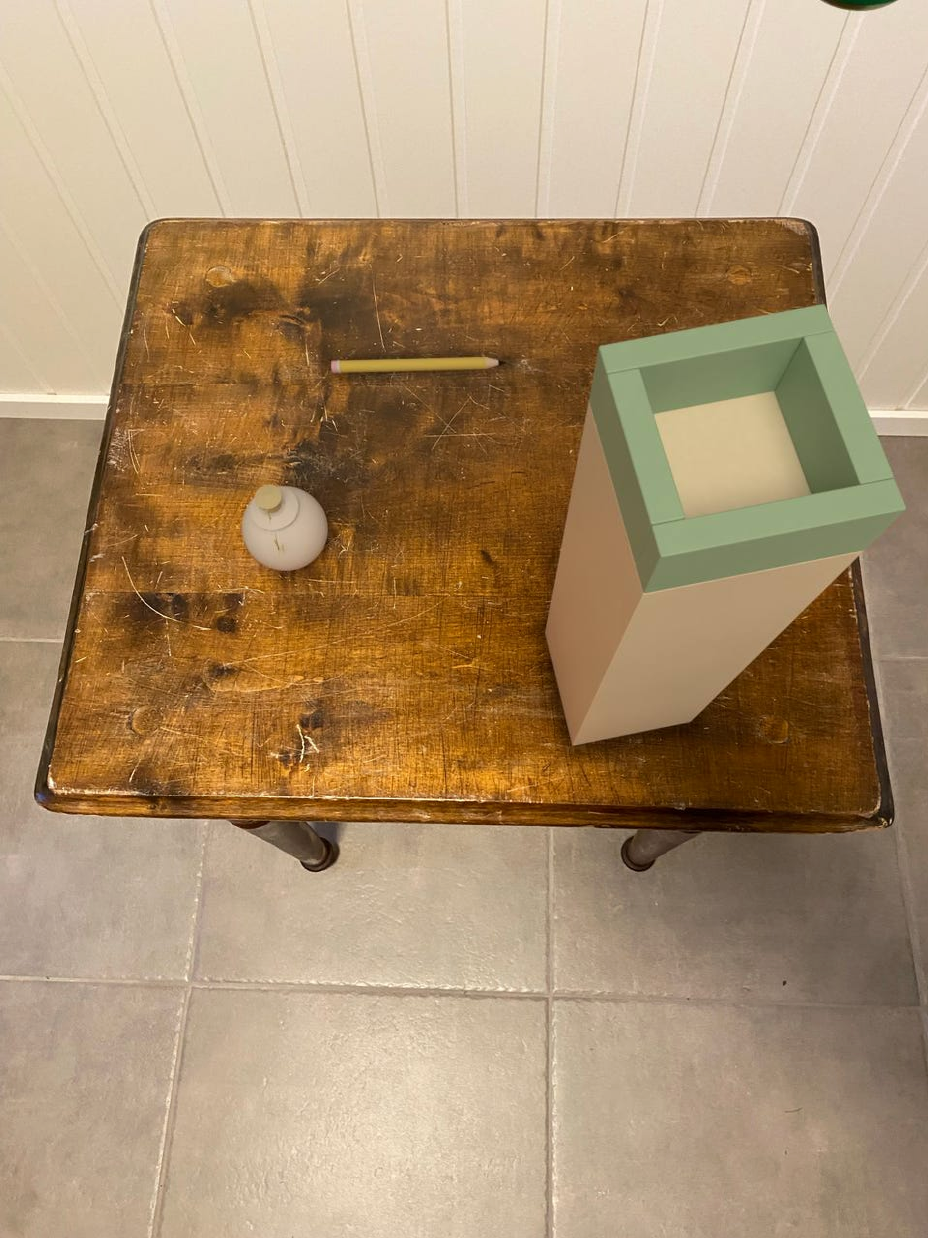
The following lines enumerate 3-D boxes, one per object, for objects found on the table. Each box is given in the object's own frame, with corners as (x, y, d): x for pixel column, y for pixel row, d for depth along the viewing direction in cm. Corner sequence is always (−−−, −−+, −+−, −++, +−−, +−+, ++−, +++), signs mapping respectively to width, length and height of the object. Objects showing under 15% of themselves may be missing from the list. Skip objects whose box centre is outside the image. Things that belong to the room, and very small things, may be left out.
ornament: (326, 501, 67) (299, 432, 58) (344, 590, 65) (318, 534, 55) (248, 518, 67) (208, 452, 57) (263, 608, 64) (223, 555, 55)
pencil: (507, 371, 71) (507, 363, 70) (333, 375, 71) (330, 368, 70) (506, 360, 71) (507, 353, 70) (333, 365, 71) (331, 357, 70)
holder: (658, 609, 64) (825, 302, 32) (690, 722, 61) (907, 508, 29) (544, 632, 63) (598, 345, 32) (572, 746, 61) (660, 557, 29)
